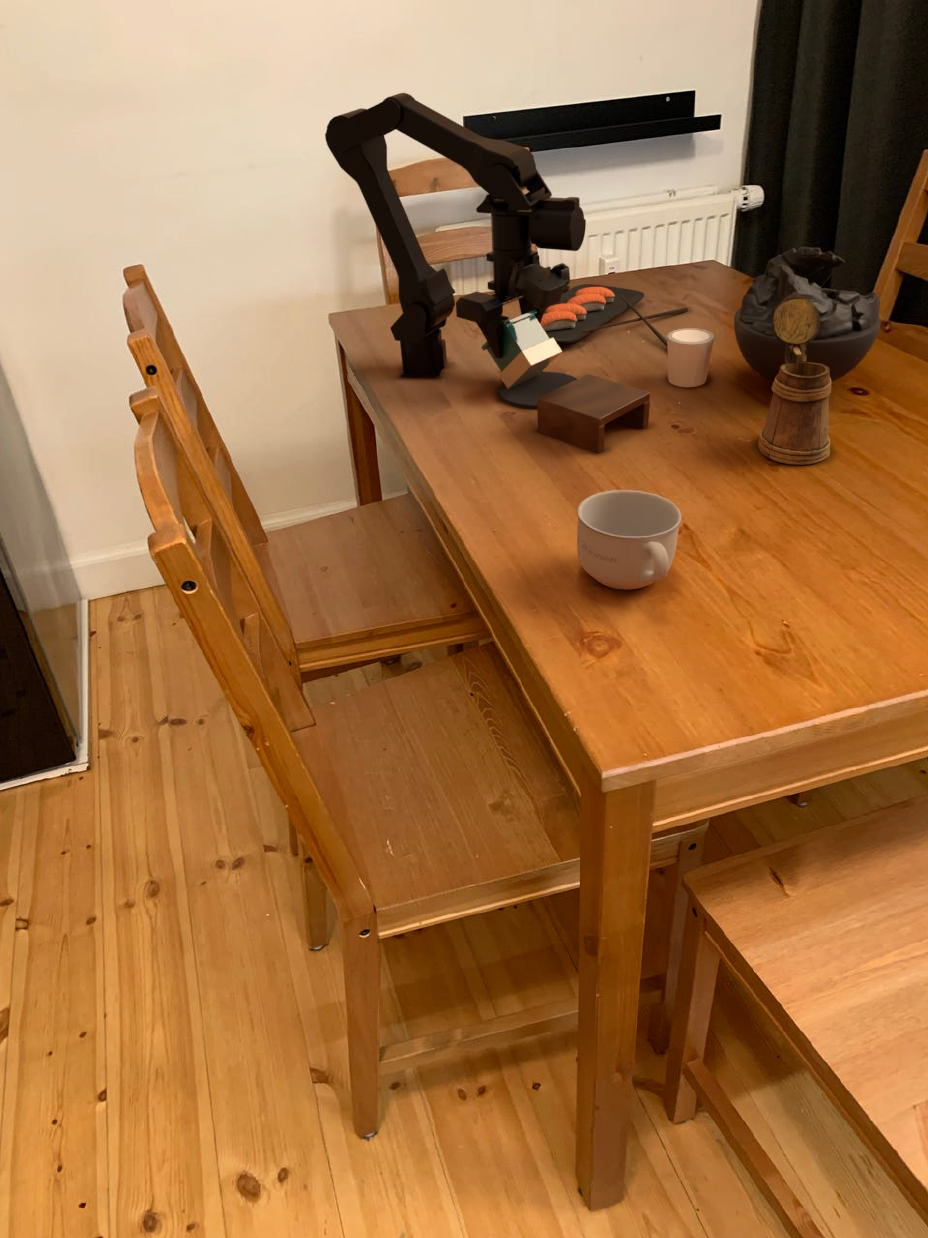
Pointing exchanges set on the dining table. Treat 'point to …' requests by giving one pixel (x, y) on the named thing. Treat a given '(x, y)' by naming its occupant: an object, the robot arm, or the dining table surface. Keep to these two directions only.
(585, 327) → the sushi plate
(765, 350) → the coal bowl
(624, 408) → the stand
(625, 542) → the teacup
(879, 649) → the dining table surface
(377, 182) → the robot arm
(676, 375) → the white cup
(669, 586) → the dining table surface
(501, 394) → the mat
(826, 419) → the wooden mug
